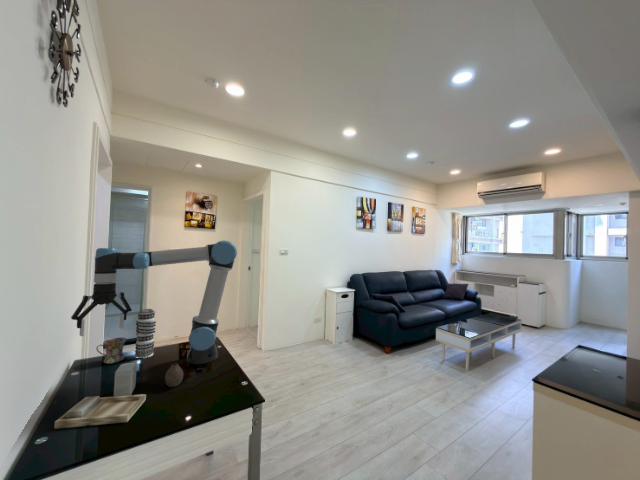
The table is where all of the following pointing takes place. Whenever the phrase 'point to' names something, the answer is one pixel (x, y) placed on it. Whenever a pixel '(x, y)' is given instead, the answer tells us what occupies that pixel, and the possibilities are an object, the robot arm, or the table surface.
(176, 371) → the vase
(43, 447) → the table surface
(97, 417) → the organizer
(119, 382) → the small box
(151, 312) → the decorative candle
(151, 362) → the table surface
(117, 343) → the mug
